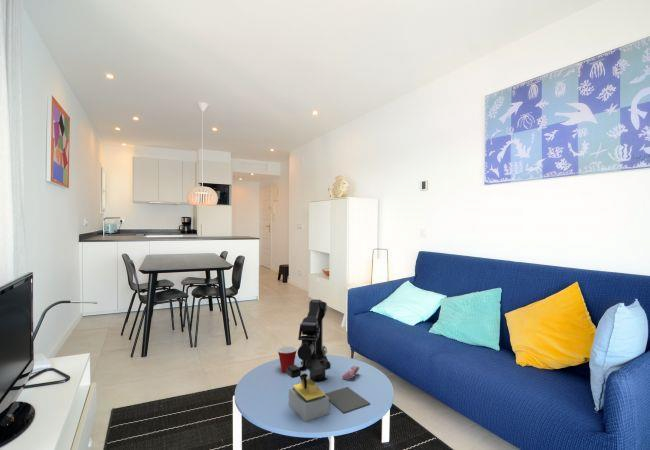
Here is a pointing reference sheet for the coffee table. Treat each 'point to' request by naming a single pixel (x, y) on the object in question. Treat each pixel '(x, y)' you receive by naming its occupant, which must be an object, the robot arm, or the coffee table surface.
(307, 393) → the lid
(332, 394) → the mat
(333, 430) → the coffee table surface
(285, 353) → the plastic cup
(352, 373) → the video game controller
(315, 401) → the box
